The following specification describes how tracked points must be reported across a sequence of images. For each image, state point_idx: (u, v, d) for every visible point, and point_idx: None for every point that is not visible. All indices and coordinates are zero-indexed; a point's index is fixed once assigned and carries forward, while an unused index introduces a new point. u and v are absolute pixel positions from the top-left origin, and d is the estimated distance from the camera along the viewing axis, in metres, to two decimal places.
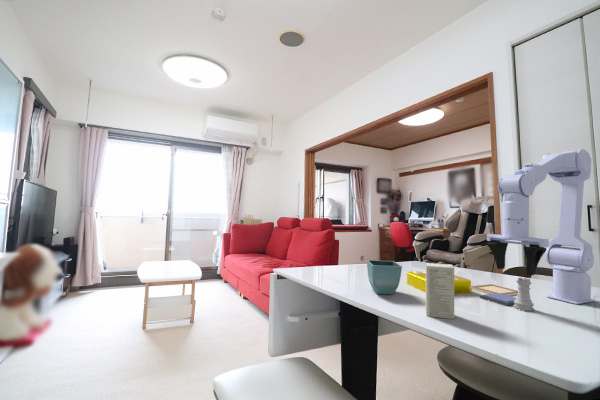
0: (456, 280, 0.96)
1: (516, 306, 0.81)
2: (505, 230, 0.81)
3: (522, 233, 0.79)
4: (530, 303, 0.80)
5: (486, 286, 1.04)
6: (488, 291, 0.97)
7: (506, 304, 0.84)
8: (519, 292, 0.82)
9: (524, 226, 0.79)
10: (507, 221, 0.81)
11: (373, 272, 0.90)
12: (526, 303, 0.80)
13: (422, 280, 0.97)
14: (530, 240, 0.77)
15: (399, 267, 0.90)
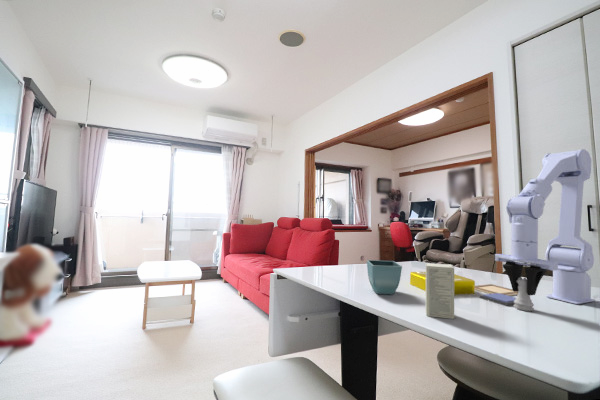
0: (460, 280, 0.95)
1: (516, 306, 0.81)
2: (514, 251, 0.82)
3: (531, 255, 0.79)
4: (530, 303, 0.80)
5: (486, 286, 1.04)
6: (488, 291, 0.97)
7: (506, 304, 0.84)
8: (519, 292, 0.82)
9: (533, 248, 0.79)
10: (516, 243, 0.81)
11: (373, 272, 0.90)
12: (526, 303, 0.80)
13: None
14: (539, 263, 0.77)
15: (399, 267, 0.90)
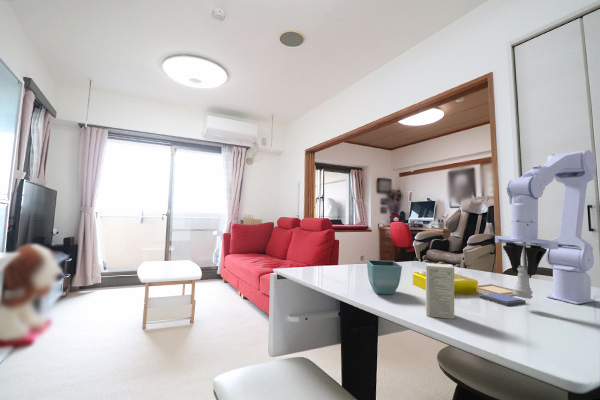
0: (463, 280, 0.95)
1: (515, 293, 0.81)
2: (514, 232, 0.82)
3: (531, 235, 0.79)
4: (529, 291, 0.80)
5: (486, 286, 1.04)
6: (488, 291, 0.97)
7: (506, 304, 0.84)
8: (519, 279, 0.82)
9: (533, 228, 0.79)
10: (516, 223, 0.81)
11: (373, 272, 0.90)
12: (525, 290, 0.80)
13: None
14: (539, 242, 0.77)
15: (399, 267, 0.90)
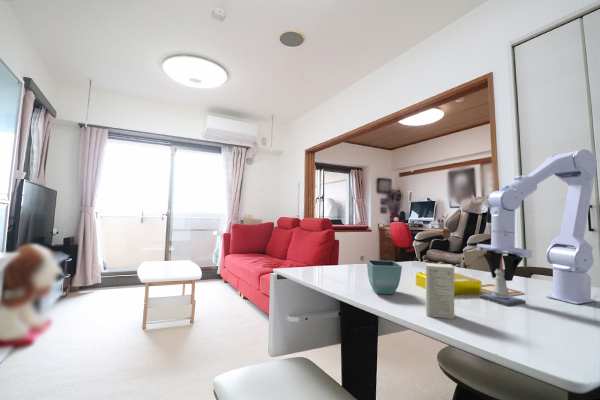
0: (467, 281, 0.95)
1: (494, 295, 0.88)
2: (493, 241, 0.89)
3: (509, 244, 0.86)
4: (506, 292, 0.87)
5: (486, 286, 1.04)
6: (488, 291, 0.97)
7: (506, 304, 0.84)
8: (497, 282, 0.89)
9: (510, 237, 0.86)
10: (495, 233, 0.88)
11: (373, 272, 0.90)
12: (502, 291, 0.87)
13: None
14: (515, 251, 0.84)
15: (399, 267, 0.90)
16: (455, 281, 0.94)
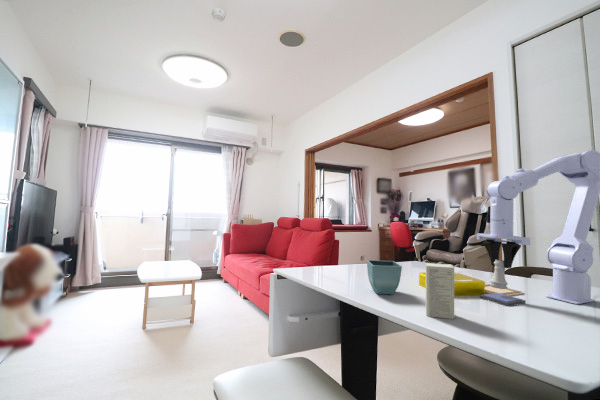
0: (470, 281, 0.94)
1: (492, 284, 0.90)
2: (492, 229, 0.91)
3: (507, 232, 0.89)
4: (504, 282, 0.89)
5: (486, 286, 1.04)
6: (488, 291, 0.97)
7: (506, 304, 0.84)
8: (495, 272, 0.91)
9: (509, 226, 0.89)
10: (494, 222, 0.91)
11: (373, 272, 0.90)
12: (500, 281, 0.89)
13: None
14: (514, 238, 0.87)
15: (399, 267, 0.90)
16: (459, 281, 0.94)
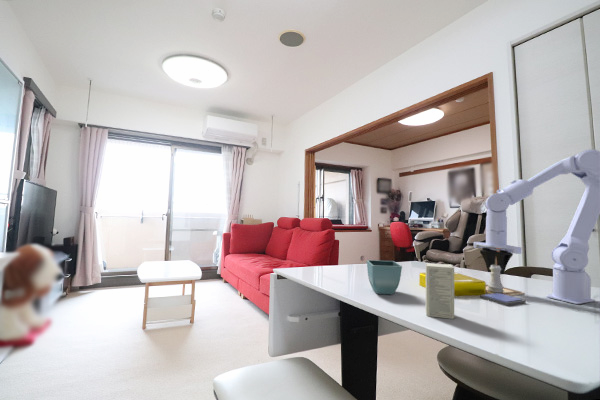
0: (471, 281, 0.94)
1: (489, 289, 0.96)
2: (487, 239, 1.00)
3: (501, 242, 0.97)
4: (501, 286, 0.95)
5: (486, 286, 1.04)
6: (488, 291, 0.97)
7: (506, 304, 0.84)
8: (492, 277, 0.97)
9: (503, 236, 0.97)
10: (489, 232, 0.99)
11: (373, 272, 0.90)
12: (497, 286, 0.95)
13: None
14: (507, 248, 0.95)
15: (399, 267, 0.90)
16: (459, 282, 0.93)
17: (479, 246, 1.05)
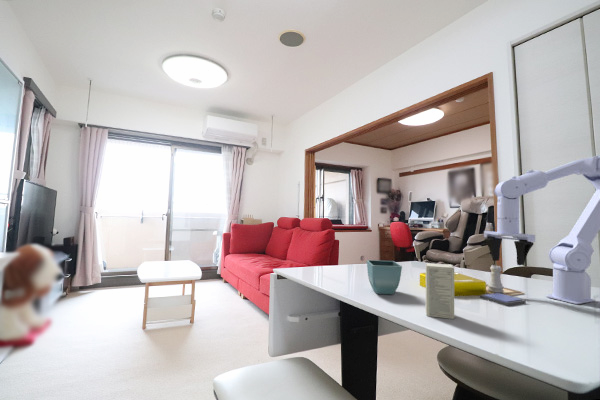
0: (471, 281, 0.94)
1: (489, 289, 0.96)
2: (499, 227, 0.96)
3: (513, 230, 0.93)
4: (501, 286, 0.95)
5: (486, 286, 1.04)
6: (488, 291, 0.97)
7: (506, 304, 0.84)
8: (492, 277, 0.97)
9: (515, 224, 0.93)
10: (501, 220, 0.95)
11: (373, 272, 0.90)
12: (497, 286, 0.95)
13: None
14: (519, 236, 0.91)
15: (399, 267, 0.90)
16: (460, 282, 0.93)
17: (490, 235, 1.01)
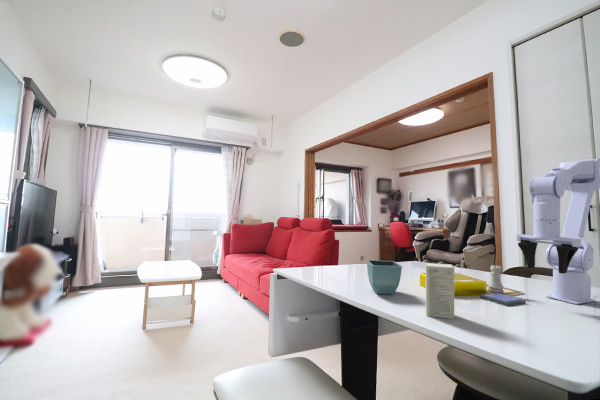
0: (471, 281, 0.94)
1: (489, 289, 0.96)
2: (537, 230, 0.84)
3: (554, 233, 0.82)
4: (501, 286, 0.95)
5: (486, 286, 1.04)
6: (488, 291, 0.97)
7: (506, 304, 0.84)
8: (492, 277, 0.97)
9: (556, 226, 0.82)
10: (539, 221, 0.84)
11: (373, 272, 0.90)
12: (497, 286, 0.95)
13: None
14: (562, 240, 0.80)
15: (399, 267, 0.90)
16: (460, 282, 0.93)
17: (524, 239, 0.89)
